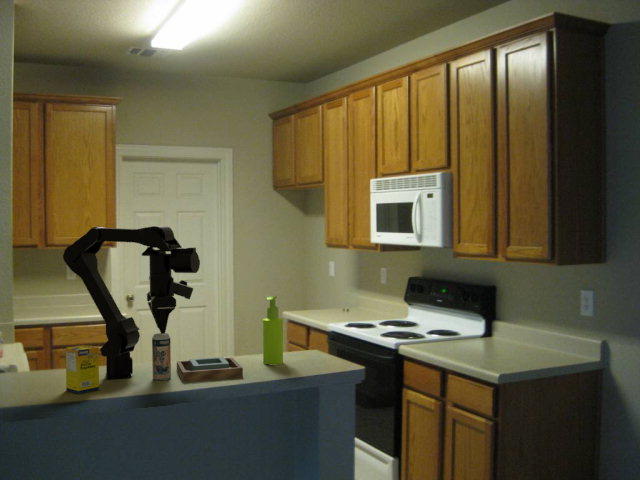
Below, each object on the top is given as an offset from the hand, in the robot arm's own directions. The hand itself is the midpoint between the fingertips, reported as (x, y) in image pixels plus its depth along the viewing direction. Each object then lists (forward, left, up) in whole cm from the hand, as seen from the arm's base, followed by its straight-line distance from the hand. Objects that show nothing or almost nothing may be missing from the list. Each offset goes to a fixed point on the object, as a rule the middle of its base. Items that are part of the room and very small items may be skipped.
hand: (161, 330), depth 184 cm
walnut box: (+13, +2, -13) cm, 18 cm away
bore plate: (+13, +2, -13) cm, 18 cm away
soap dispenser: (+33, +9, -13) cm, 37 cm away
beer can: (0, 0, -13) cm, 13 cm away
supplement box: (-20, -6, -13) cm, 25 cm away
